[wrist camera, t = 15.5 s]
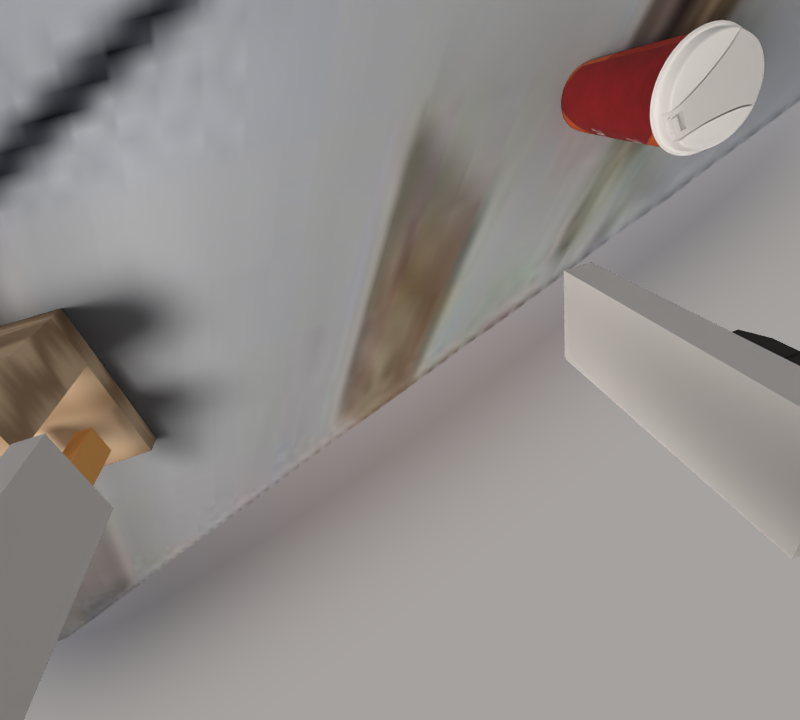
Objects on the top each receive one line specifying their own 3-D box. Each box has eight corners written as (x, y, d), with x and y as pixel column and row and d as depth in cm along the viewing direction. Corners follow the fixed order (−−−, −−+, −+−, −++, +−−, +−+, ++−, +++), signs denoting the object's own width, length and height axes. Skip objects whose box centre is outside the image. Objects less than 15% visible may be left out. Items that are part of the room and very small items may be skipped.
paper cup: (570, 161, 42) (682, 182, 30) (536, 87, 38) (650, 78, 26) (638, 104, 41) (782, 103, 29) (611, 21, 37) (765, -19, 25)
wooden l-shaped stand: (-56, 342, 37) (-212, 451, 25) (61, 308, 38) (-38, 398, 26) (70, 476, 46) (-1, 601, 35) (162, 447, 47) (123, 559, 36)
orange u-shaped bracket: (8, 453, 38) (-72, 550, 30) (92, 427, 39) (37, 516, 30) (30, 475, 40) (-39, 574, 31) (111, 450, 40) (64, 541, 32)
